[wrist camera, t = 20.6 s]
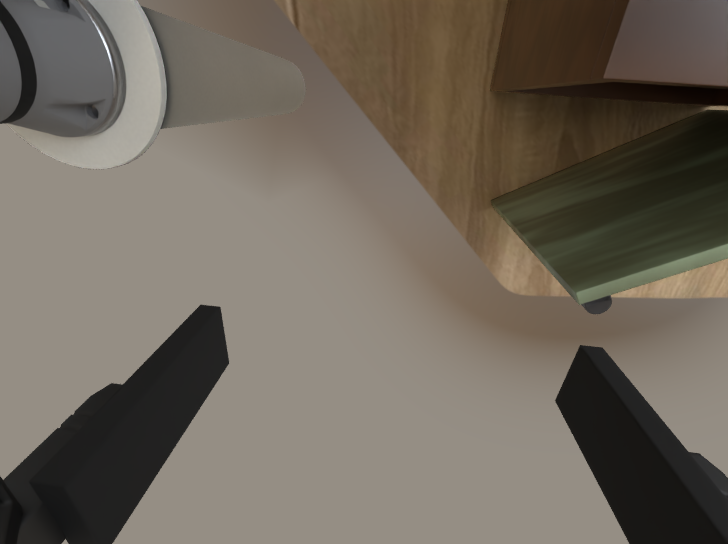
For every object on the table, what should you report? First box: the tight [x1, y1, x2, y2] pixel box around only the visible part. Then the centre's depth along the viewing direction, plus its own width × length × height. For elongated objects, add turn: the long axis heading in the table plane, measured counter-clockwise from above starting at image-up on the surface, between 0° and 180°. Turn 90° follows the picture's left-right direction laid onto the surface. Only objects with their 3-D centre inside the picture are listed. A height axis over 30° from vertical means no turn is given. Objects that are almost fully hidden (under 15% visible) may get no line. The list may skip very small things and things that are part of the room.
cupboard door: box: [491, 110, 728, 314], centre depth 29 cm, size 7×22×22 cm, turn 116°
